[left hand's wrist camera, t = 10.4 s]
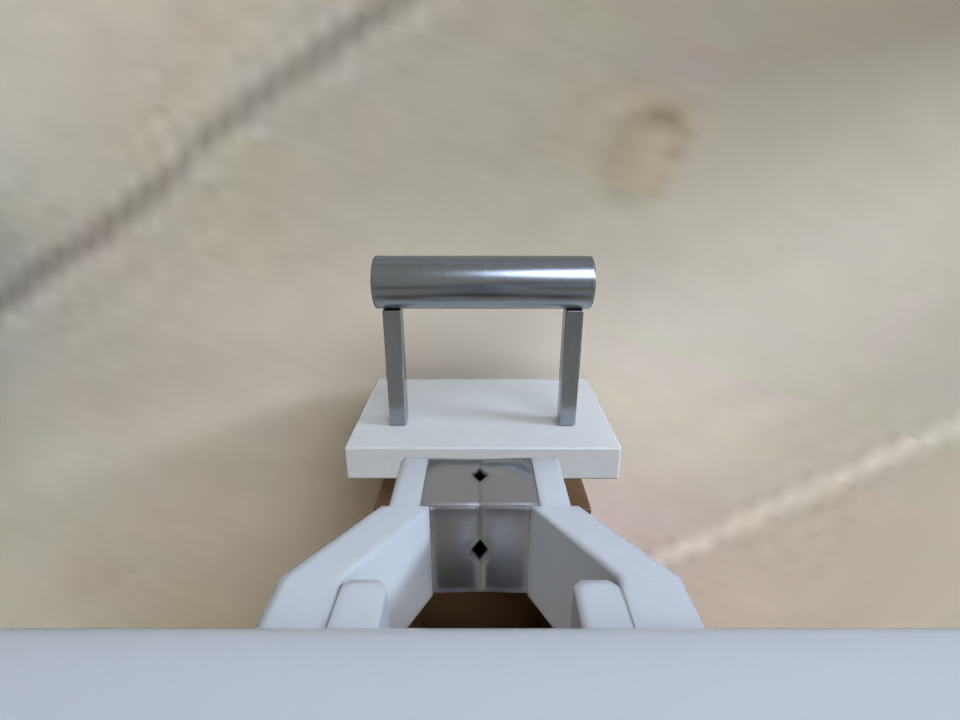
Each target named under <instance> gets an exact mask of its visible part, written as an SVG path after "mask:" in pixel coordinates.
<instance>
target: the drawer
mask: <svg viewBox="0 0 960 720" xmlns="http://www.w3.org/2000/svg"><path fill="white" fill-rule="evenodd" d="M595 288H596V270H595V263H594V260H593V257H591V256H375V257H374V258H373V261H372V265H371V294H372V299H373V303H374V306H375V307H376V308H378V309H383V311H382V312H383V327H384V342H385V357H386V372H387V379H378V381H377V383H376V385H375V387H374V389H373V391H372V393H371V395H370V397H369V399H368V401H367V403H366V405H365V407H364V409H363V411H362V413H361V415H360V417H359V420H358V422H357V424H356V426H355V428H354V430H353V432H352V434H351V436H350V438H349V440H348V442H347V444H346V446H345V448H344V449H345V459H346V468H347V477H348V478H384V480H383V483H382V486H381V489H380V492H379V496H378V499H377V502H376V505H375V508H374V511H375V510H377V509H378V508H379V507H381V506H389V504H390V500H391V497H392V493H393V489H394V486H395V482H396V478H397V475H398V471H399V467H400V464H401V460H402V459H403V458H404V457H428V458H429V459H430V457H433V458H480V459H498V458H539V457H556V458H557V459H558V461H559V464H560V468H561V472H562V475H563V479H564V482H565V486H566V490H567V493H568V497H569V500H570V504H571V506H579V507H581V508H582V509H583V510H585V511H586V512H588V513H589V514H590V515H591V507H590V504H589V501H588V498H587V495H586V492H585V489H584V486H583V483H582V480H581V479H617V478H618V475H619V466H620V457H621V447H620V445H619V443H618V441H617V439H616V437H615V435H614V433H613V431H612V429H611V427H610V425H609V423H608V421H607V419H606V417H605V415H604V413H603V411H602V409H601V407H600V405H599V403H598V401H597V399H596V397H595V395H594V393H593V391H592V389H591V387H590V385H589V383H588V381H587V380H586V379H579V368H580V354H581V340H582V327H583V313H584V312H583V310H582V309H589V308H591V306H592V304H593V301H594V296H595ZM403 309H563V321H562V338H561V355H560V372H559V379H406V360H405V342H404V323H403ZM408 628H553V627H552V626H551V625H550V623H549V622H548V621H547V620H546V618H545V617H544V616H543V614H542V613H541V612H540V611H539V609H538V608H537V607H536V605H535V604H534V603H533V602H532V600H531V599H530V598H529V597H528V595H527V593H512V592H448V593H433V596H432V597H431V598H430V600H429V601H428V602H427V603H426V605H425V606H424V607H423V609H422V610H421V611H420V612H419V614H418V615H417V616H416V617H415V619H414V620H413V621H412V623H411V624H410V625H409V626H408Z"/></svg>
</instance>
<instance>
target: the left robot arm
mask: <svg viewBox="0 0 960 720" xmlns="http://www.w3.org/2000/svg"><path fill="white" fill-rule="evenodd" d="M448 592H512V593H527V595H528V597H529V598H530V599H531V600H532V602H533V603H534V604H535V605H536V607H537V608H538V609H539V611H540V612H541V613H542V614H543V616H544V617H545V618H546V620H547V621H548V622H549V623H550V625H551V626H552V627H553V628H408V626H409V625H410V624H411V623H412V621H413V620H414V619H415V617H416V616H417V615H418V614H419V612H420V611H421V610H422V609H423V607H424V606H425V605H426V603H427V602H428V601H429V600H430V598H431V597H432V596H433V593H448ZM0 720H960V628H704V626H703V624H702V622H701V620H700V618H699V616H698V613H697V611H696V609H695V607H694V605H693V603H692V601H691V599H690V597H689V595H688V593H687V591H686V589H685V587H684V585H683V583H682V581H681V579H680V578H679V577H678V576H676V575H675V574H674V573H672V572H671V571H669V570H668V569H666V568H665V567H664V566H662V565H661V564H659V563H658V562H657V561H655V560H654V559H652V558H651V557H650V556H648V555H647V554H645V553H644V552H643V551H641V550H640V549H638V548H637V547H635V546H634V545H633V544H631V543H630V542H628V541H627V540H626V539H624V538H623V537H621V536H620V535H619V534H617V533H616V532H614V531H613V530H612V529H610V528H609V527H607V526H606V525H605V524H603V523H602V522H600V521H599V520H597V519H596V518H595V517H593V516H592V515H590V514H589V513H588V512H586V511H585V510H583V509H582V508H581V507H579V506H571V504H570V500H569V497H568V493H567V490H566V486H565V482H564V479H563V475H562V472H561V468H560V464H559V461H558V459H557V458H556V457H539V458H498V459H480V458H433V457H430V459H429V458H428V457H404V458H403V459H402V460H401V464H400V467H399V471H398V475H397V478H396V482H395V486H394V489H393V493H392V497H391V500H390V504H389V506H381V507H379V508H378V509H377V510H375V511H374V512H372V513H371V514H370V515H368V516H367V517H365V518H364V519H362V520H361V521H360V522H358V523H357V524H355V525H354V526H353V527H351V528H350V529H348V530H347V531H345V532H344V533H343V534H341V535H340V536H338V537H337V538H336V539H334V540H333V541H331V542H330V543H329V544H327V545H326V546H324V547H323V548H321V549H320V550H319V551H317V552H316V553H314V554H313V555H312V556H310V557H309V558H307V559H306V560H304V561H303V562H302V563H300V564H299V565H297V566H296V567H295V568H293V569H292V570H290V571H289V572H288V573H286V574H285V575H283V576H282V577H280V579H279V581H278V583H277V585H276V587H275V589H274V591H273V593H272V595H271V597H270V600H269V602H268V604H267V606H266V608H265V610H264V612H263V614H262V616H261V618H260V620H259V622H258V624H257V626H256V628H0Z"/></svg>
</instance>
